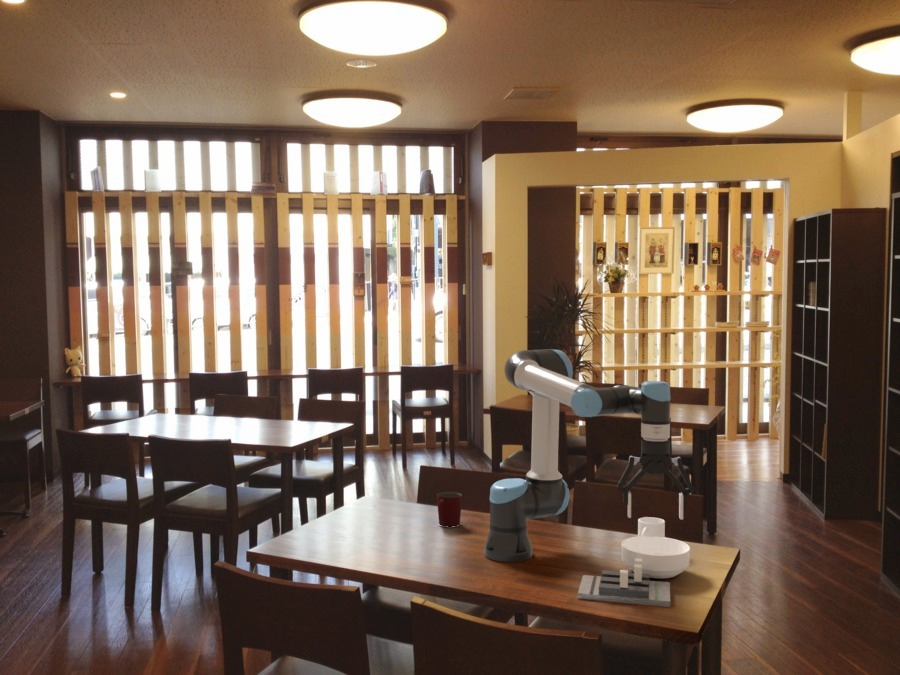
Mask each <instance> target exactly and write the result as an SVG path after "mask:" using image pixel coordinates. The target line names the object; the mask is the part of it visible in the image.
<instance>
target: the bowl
mask: <svg viewBox="0 0 900 675" xmlns="http://www.w3.org/2000/svg"><path fill="white" fill-rule="evenodd" d="M620 548H621V549H620V550H621V551H620V552H621V560H622V561H623V563H624V564H625V565H626V567H627V568H628V569H629V570H631V571H632V572H634V564H635V558H638V559H642V574H649V579H650V578H651V579H670V578H674V577H676V576H678V575H680V574H681V573H683V572H684V571H685V569H686V568H688V567H689V566H690V559H691V547H690V545H688V544H687V543H686V542H684V541H681V540H680V539H679V540H678V539H675V538H671V537H666V536H665V537H659V536H638V535H636V536H632V537H627V538H624V539H623V540H622V541H621V544H620Z"/></svg>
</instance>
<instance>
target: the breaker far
mask: <svg viewBox="0 0 900 675" xmlns="http://www.w3.org/2000/svg"><path fill="white" fill-rule="evenodd" d="M635 564H636V565H642V559H638V558H635Z"/></svg>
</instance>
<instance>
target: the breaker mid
mask: <svg viewBox="0 0 900 675" xmlns="http://www.w3.org/2000/svg"><path fill="white" fill-rule="evenodd" d="M633 573H634V582H642V565H636V564H634V571H633Z"/></svg>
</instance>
